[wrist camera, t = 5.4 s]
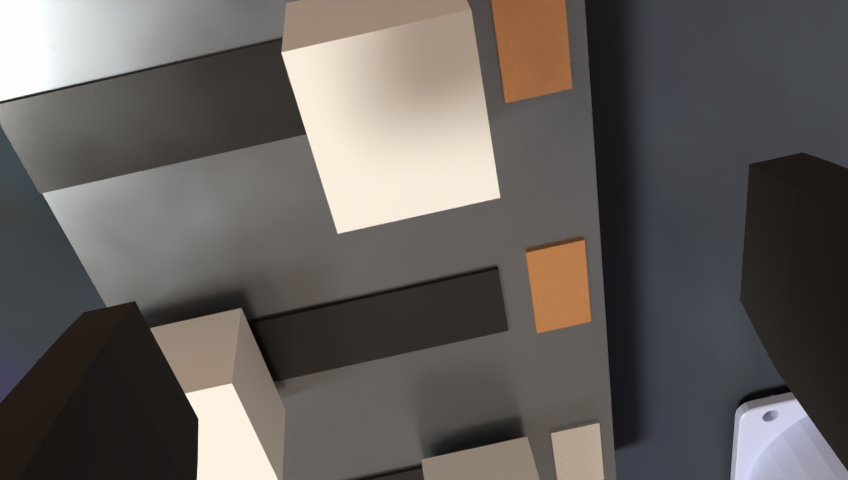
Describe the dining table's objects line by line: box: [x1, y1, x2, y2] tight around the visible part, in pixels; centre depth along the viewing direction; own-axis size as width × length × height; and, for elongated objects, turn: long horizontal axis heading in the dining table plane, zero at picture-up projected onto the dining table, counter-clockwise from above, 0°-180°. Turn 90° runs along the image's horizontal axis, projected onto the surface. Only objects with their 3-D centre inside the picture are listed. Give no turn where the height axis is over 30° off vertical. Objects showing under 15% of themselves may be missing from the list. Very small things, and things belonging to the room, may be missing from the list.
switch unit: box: [0, 0, 616, 480], centre depth 20 cm, size 12×19×2 cm, turn 11°
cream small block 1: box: [150, 308, 285, 480], centre depth 18 cm, size 3×4×2 cm
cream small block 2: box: [281, 0, 500, 234], centre depth 14 cm, size 3×4×2 cm
